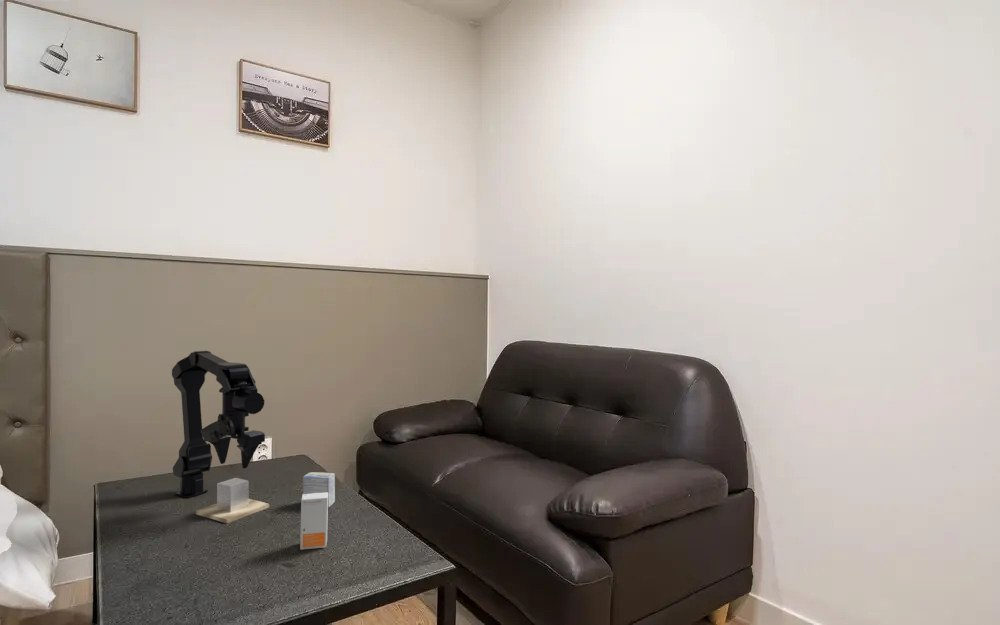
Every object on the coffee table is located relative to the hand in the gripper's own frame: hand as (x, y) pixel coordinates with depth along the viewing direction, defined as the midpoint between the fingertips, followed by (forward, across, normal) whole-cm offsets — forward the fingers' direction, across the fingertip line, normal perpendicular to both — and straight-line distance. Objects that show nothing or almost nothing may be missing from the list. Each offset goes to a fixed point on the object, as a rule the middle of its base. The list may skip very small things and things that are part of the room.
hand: (233, 465), depth 150 cm
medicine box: (+13, +17, +15) cm, 26 cm away
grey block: (+12, 0, 0) cm, 12 cm away
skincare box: (+13, +36, -5) cm, 38 cm away
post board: (+12, 0, 0) cm, 13 cm away
